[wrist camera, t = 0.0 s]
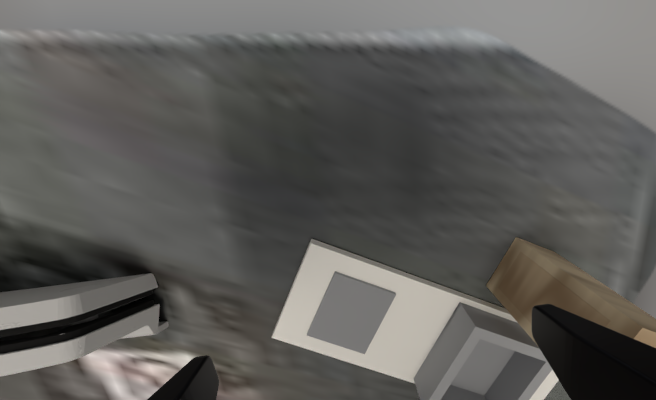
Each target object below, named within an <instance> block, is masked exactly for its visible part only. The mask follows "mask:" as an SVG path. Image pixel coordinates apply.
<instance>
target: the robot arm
mask: <svg viewBox="0 0 656 400" xmlns="http://www.w3.org/2000/svg"><path fill="white" fill-rule="evenodd" d="M532 335H533V338H534V340H535V342H536V343H537V345H538V347H539V348H540V350H541V352H542V353H543V355H544V357H545V358H546V360H547V361H548V363H549V365H550V366H551V368H552V370H553V371H554V373H555V375H556V376H557V378H558V379H559V381H560V383H561V384H562V386H563V388H564V389H565V391H566V392H567V394H568V395H569V397H570V398H571V400H656V348H654V347H652V346H650V345H647V344H645V343H642V342H640V341H638V340H635V339H633V338H630V337H628V336H626V335H623V334H621V333H619V332H616V331H614V330H611V329H609V328H607V327H604V326H602V325H599V324H597V323H595V322H592V321H590V320H587V319H585V318H583V317H580V316H578V315H575V314H573V313H571V312H568V311H566V310H564V309H561V308H559V307H556V306H554V305H551V304H542V305H536V306H534V307H533V308H532ZM218 386H219V380H218V375H217V373H216V370H215V367H214V365H213V362H212V359H211V358H210V356H200V357H195V358H193V359H192V360H191V361H190V362H189V363H188V364H187V365H185V366H184V367H183V368H182V369H181V370H180V371H179V372H178V373H176V374H175V375H174V376H173V377H172V378H171V379H170V380H169V381H168V382H166V383H165V384H164V385H163V386H162V387H161V388H160V389H159V390H158V391H156V392H155V393H154V394H153V395H152V396H151V397H150V398H149V399H147V400H216V396H217V391H218Z"/></svg>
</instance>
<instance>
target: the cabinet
mask: <svg viewBox="0 0 656 400" xmlns="http://www.w3.org/2000/svg"><path fill="white" fill-rule="evenodd" d="M272 338H274V339H277V340H280V341H283V342H286V343H290V344H293V345H296V346H299V347H302V348H305V349H308V350H311V351H315V352H318V353H321V354H324V355H327V356H330V357H333V358H336V359H340V360H343V361H346V362H349V363H352V364H355V365H358V366H361V367H365V368H368V369H371V370H374V371H377V372H380V373H383V374H386V375H390V376H393V377H396V378H399V379H402V380H405V381H408V382H411V383H415V385H416V388H417V391H418V395H419V398H420V400H544V398H545V397H546V396H547V394H548V393H549V392H550V391H551V389H552V388H553V387H554V385H555V384H556V383H557V382H558V380H559V379H558V378H557V376H556V375H555V373H554V371H553V370H552V368H551V366H550V365H549V363H548V361H547V360H546V358H545V357H544V355H543V353H542V352H541V350H540V348H539V347H538V346H537V344H536V343H535V342H534V341H533V340H532V339H531V337H530V336H529V335H528V334H527V333H526V332H525V330H524V329H523V328H522V327H521V326H520V325H519V324H518V322H517V321H516V320H515V319H514V318H513V317H512V315H511V314H510V313H509V312H508V311H507V310H506V308H503V307H500V306H497V305H495V304H492V303H489V302H486V301H483V300H481V299H478V298H475V297H472V296H470V295H467V294H464V293H461V292H459V291H456V290H453V289H450V288H447V287H445V286H442V285H439V284H436V283H434V282H431V281H428V280H425V279H422V278H420V277H417V276H414V275H411V274H409V273H406V272H403V271H400V270H397V269H395V268H392V267H389V266H386V265H384V264H381V263H378V262H375V261H373V260H370V259H367V258H364V257H361V256H359V255H356V254H353V253H350V252H348V251H345V250H342V249H339V248H336V247H334V246H331V245H328V244H325V243H323V242H320V241H317V240H314V239H311V241H310V243H309V245H308V248H307V250H306V253H305V255H304V258H303V260H302V262H301V265H300V267H299V270H298V272H297V275H296V277H295V279H294V282H293V284H292V287H291V289H290V292H289V294H288V296H287V299H286V301H285V304H284V306H283V309H282V311H281V313H280V316H279V318H278V321H277V323H276V326H275V328H274V330H273V334H272Z"/></svg>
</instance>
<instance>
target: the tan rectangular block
mask: <svg viewBox="0 0 656 400" xmlns="http://www.w3.org/2000/svg"><path fill="white" fill-rule="evenodd" d="M486 286H487V287H488V289H489V290H490V291H491V292H492V293H493V294H494V296H495V297H496V298H497V299H498V300H499V301H500V303H501V304H502V305H503V306H504V307H505V308H506V310H507V311H508V312H509V313H510V314H511V315H512V317H513V318H514V319H515V320H516V321H517V322H518V324H519V325H520V326H521V327H522V328H523V329H524V330H525V332H526V333H527V334H528V335H529V336H530V337H531V339H532V340H533V341H534V342H535V340H534V338H533V335H532V308H533V307H534V306H536V305H542V304H551V305H554V306H556V307H559V308H561V309H564V310H566V311H568V312H571V313H573V314H575V315H578V316H580V317H583V318H585V319H587V320H590V321H592V322H595V323H597V324H599V325H602V326H604V327H607V328H609V329H611V330H614V331H616V332H619V333H621V334H623V335H626V336H628V337H630V338H633V339H635V340H638V341H640V342H642V343H645V344H647V345H650V346H652V347H654V348H656V319H655V318H654V317H652V316H650V315H649V314H647V313H646V312H644V311H643V310H641V309H640V308H638V307H637V306H635V305H634V304H633V303H631V302H629V301H628V300H626V299H625V298H623V297H622V296H620V295H619V294H617V293H616V292H614V291H613V290H611V289H610V288H608V287H607V286H605V285H604V284H602V283H601V282H599V281H598V280H596V279H595V278H593V277H592V276H590V275H589V274H587V273H586V272H584V271H583V270H581V269H580V268H578V267H577V266H575V265H574V264H572V263H570V262H569V261H567V260H566V259H564V258H563V257H561V256H560V255H558V254H557V253H555V252H553V251H551V250H548V249H546V248H543V247H540V246H538V245H535V244H533V243H530V242H528V241H525V240H523V239H520V238H517V237H516V238H515V240H514V241H513V243H512V244H511V246H510V248H509V249H508V251H507V252H506V254H505V256H504V257H503V259H502V261H501V262H500V264H499V265H498V267H497V269H496V270H495V272H494V273H493V275H492V277H491V278H490V280H489V282H488V283H487V285H486ZM535 343H536V342H535ZM536 344H537V343H536ZM537 346H538V345H537Z"/></svg>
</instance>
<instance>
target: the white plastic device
mask: <svg viewBox="0 0 656 400" xmlns="http://www.w3.org/2000/svg"><path fill="white" fill-rule="evenodd" d="M157 287H158V285H157V282H156V279H155V277H154V275H153V274H152V273H149V274H141V275H133V276H125V277H117V278H110V279H102V280H94V281H86V282H78V283H70V284H62V285H55V286H47V287H39V288H31V289H23V290H15V291H7V292H0V376H5V375H10V374H15V373H20V372H24V371H29V370H34V369H39V368H43V367H48V366H52V365H57V364H61V363H65V362H69V361H72V360H75V359H78V358H80V357H83V356H85V355H87V354H89V353H91V352H93V351H95V350H97V349H99V348H101V347H103V346H105V345H107V344H109V343H111V342H114V341H116V340H118V339H121V338H130V337H138V336H146V335H155V334H158V333H159V332H161V331H163V330H164V329H166V328H167V327H169V325H168V321H165V322H159V309H160V304H155V305H154V300H148V301H141V302H133V301H135V300H138V299H141V298H143V297H146V296H149V295H151V294H153V291H152V289H154V288H157ZM130 302H133V303H130ZM127 303H130V304H128V305H127Z"/></svg>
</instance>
